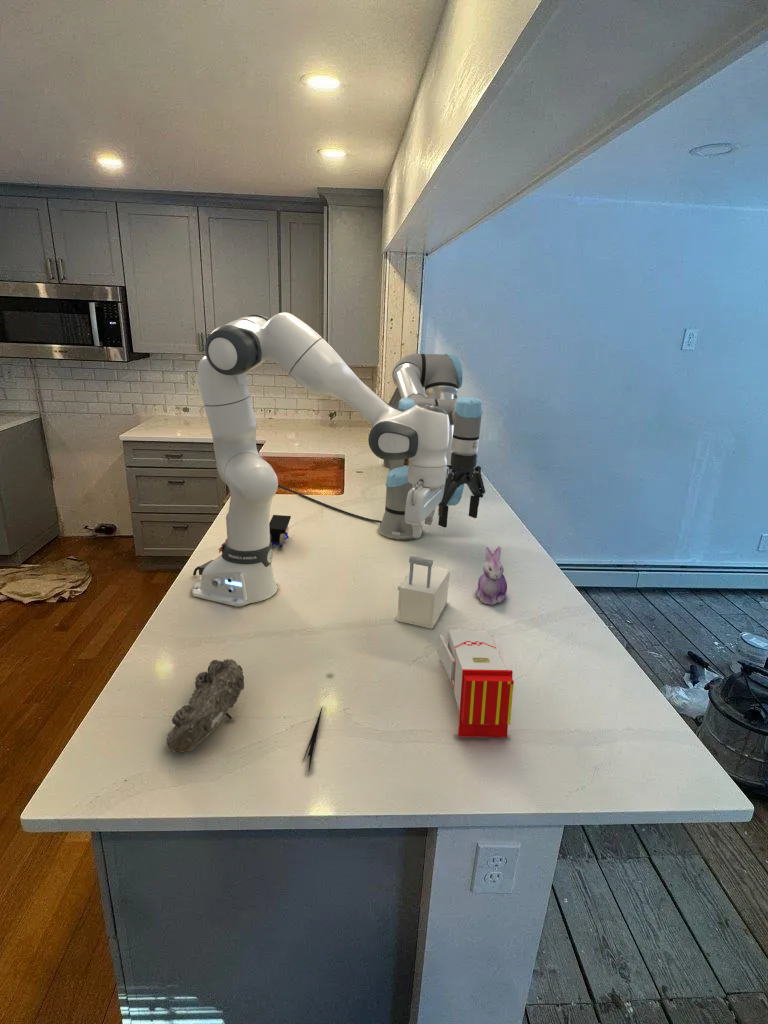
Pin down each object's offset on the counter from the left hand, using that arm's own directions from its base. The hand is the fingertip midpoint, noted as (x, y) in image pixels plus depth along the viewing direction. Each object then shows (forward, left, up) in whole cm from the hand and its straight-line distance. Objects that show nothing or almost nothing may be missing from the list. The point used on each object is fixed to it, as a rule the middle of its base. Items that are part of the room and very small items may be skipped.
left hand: (422, 530), depth 136 cm
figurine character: (-50, +39, -25) cm, 68 cm away
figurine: (+19, +17, -25) cm, 36 cm away
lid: (+1, +5, -16) cm, 17 cm away
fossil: (-34, -44, -25) cm, 61 cm away
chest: (+1, +5, -25) cm, 26 cm away
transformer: (-14, +138, -25) cm, 141 cm away
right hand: (+8, +34, -10) cm, 36 cm away
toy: (+14, -26, -25) cm, 39 cm away
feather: (-14, -41, -25) cm, 50 cm away
